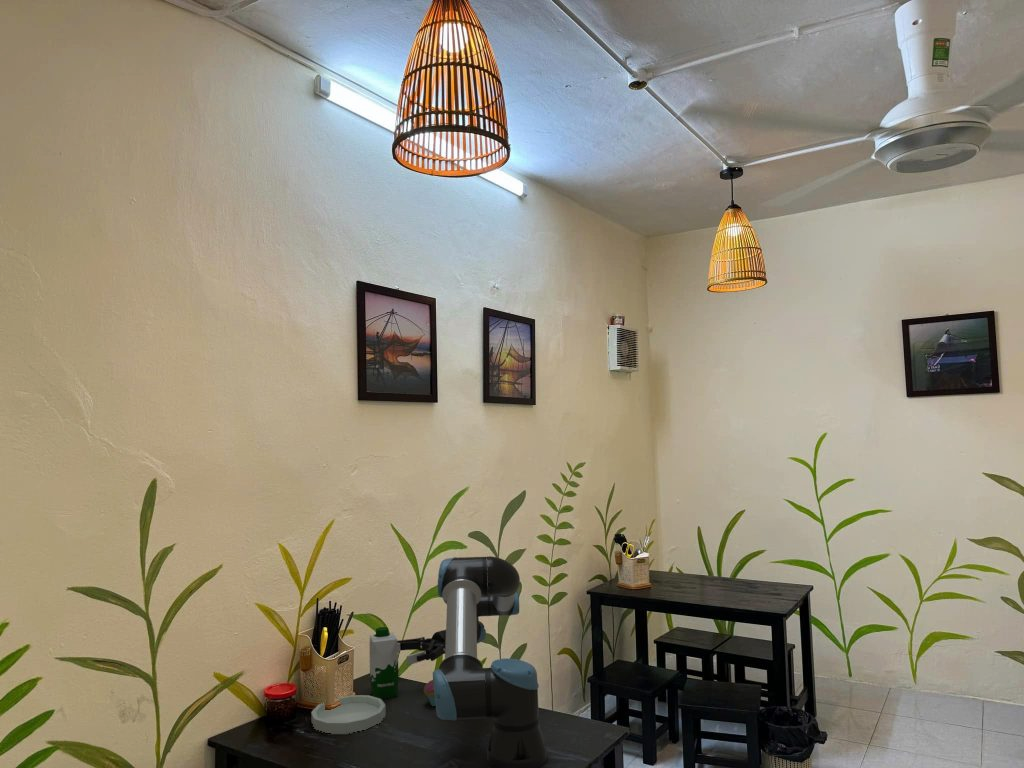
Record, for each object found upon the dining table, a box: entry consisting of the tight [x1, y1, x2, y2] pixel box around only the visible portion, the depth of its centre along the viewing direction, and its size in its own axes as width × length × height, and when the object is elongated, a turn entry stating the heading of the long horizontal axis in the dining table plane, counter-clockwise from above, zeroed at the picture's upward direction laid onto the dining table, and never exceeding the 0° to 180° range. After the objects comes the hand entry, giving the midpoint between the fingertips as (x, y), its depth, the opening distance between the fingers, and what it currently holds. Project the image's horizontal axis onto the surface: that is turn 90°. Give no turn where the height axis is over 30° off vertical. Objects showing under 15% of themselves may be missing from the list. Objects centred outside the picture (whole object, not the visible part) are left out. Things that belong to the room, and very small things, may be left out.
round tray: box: [310, 694, 387, 735], centre depth 207 cm, size 20×20×3 cm
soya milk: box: [368, 626, 399, 700], centre depth 225 cm, size 9×9×20 cm
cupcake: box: [423, 679, 436, 707], centre depth 216 cm, size 9×8×12 cm
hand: (394, 656), depth 229 cm, fingers open, 13 cm apart
